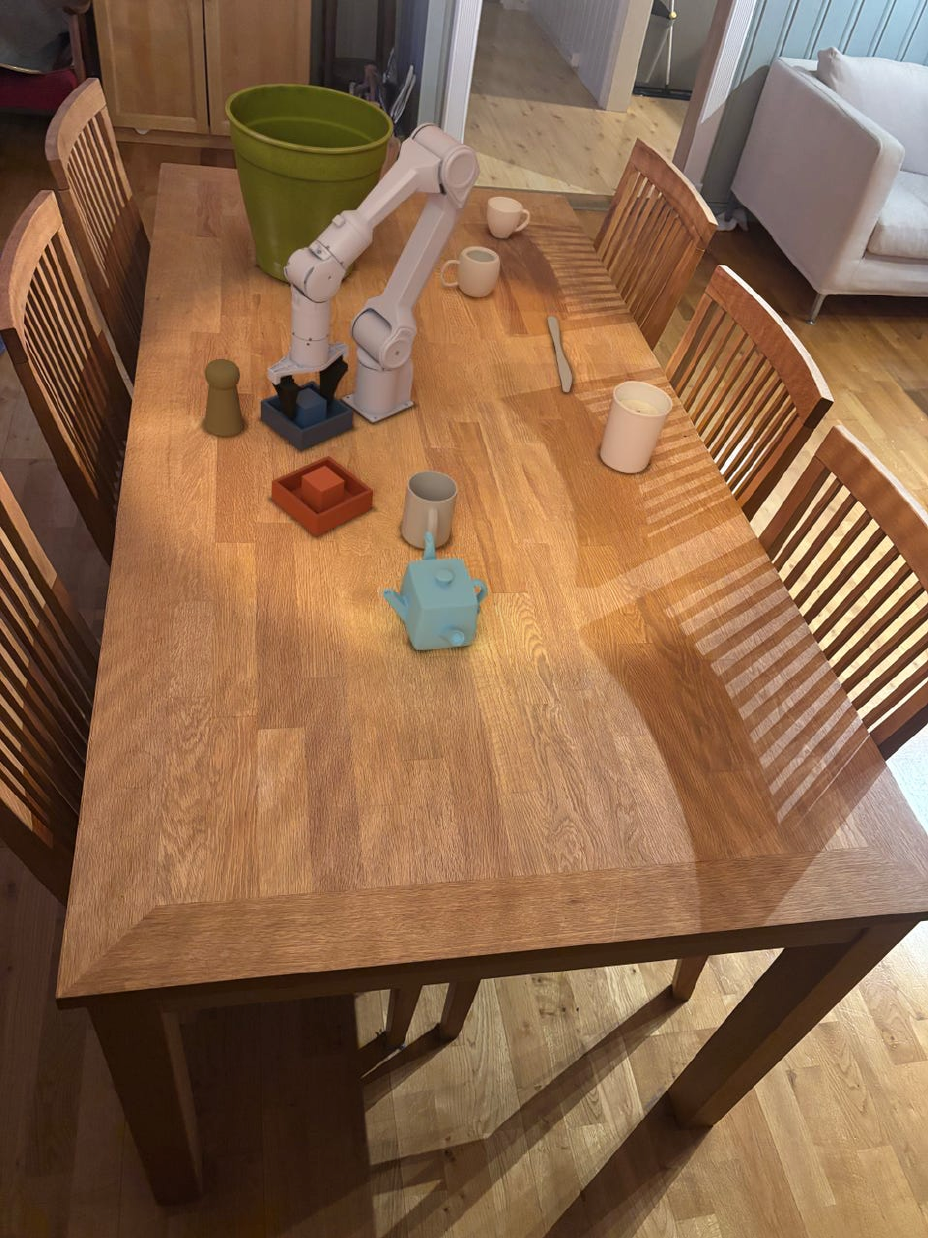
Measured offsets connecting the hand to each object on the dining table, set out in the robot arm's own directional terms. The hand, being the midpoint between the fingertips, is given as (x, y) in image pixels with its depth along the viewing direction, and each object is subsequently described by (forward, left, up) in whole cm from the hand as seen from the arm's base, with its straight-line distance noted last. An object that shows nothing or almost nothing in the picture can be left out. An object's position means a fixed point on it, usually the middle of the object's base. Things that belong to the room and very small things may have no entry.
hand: (307, 407), depth 155 cm
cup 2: (-83, -32, -3) cm, 89 cm away
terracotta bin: (+11, +17, -3) cm, 20 cm away
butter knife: (-54, +9, -3) cm, 55 cm away
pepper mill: (+11, -7, -3) cm, 13 cm away
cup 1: (+4, +32, -3) cm, 32 cm away
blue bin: (0, 0, -3) cm, 3 cm away
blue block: (0, 0, -3) cm, 3 cm away
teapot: (+16, +45, -3) cm, 48 cm away
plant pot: (-34, -42, -3) cm, 54 cm away
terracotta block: (+11, +17, -3) cm, 20 cm away
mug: (-56, -18, -3) cm, 59 cm away
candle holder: (-38, +37, -3) cm, 53 cm away
